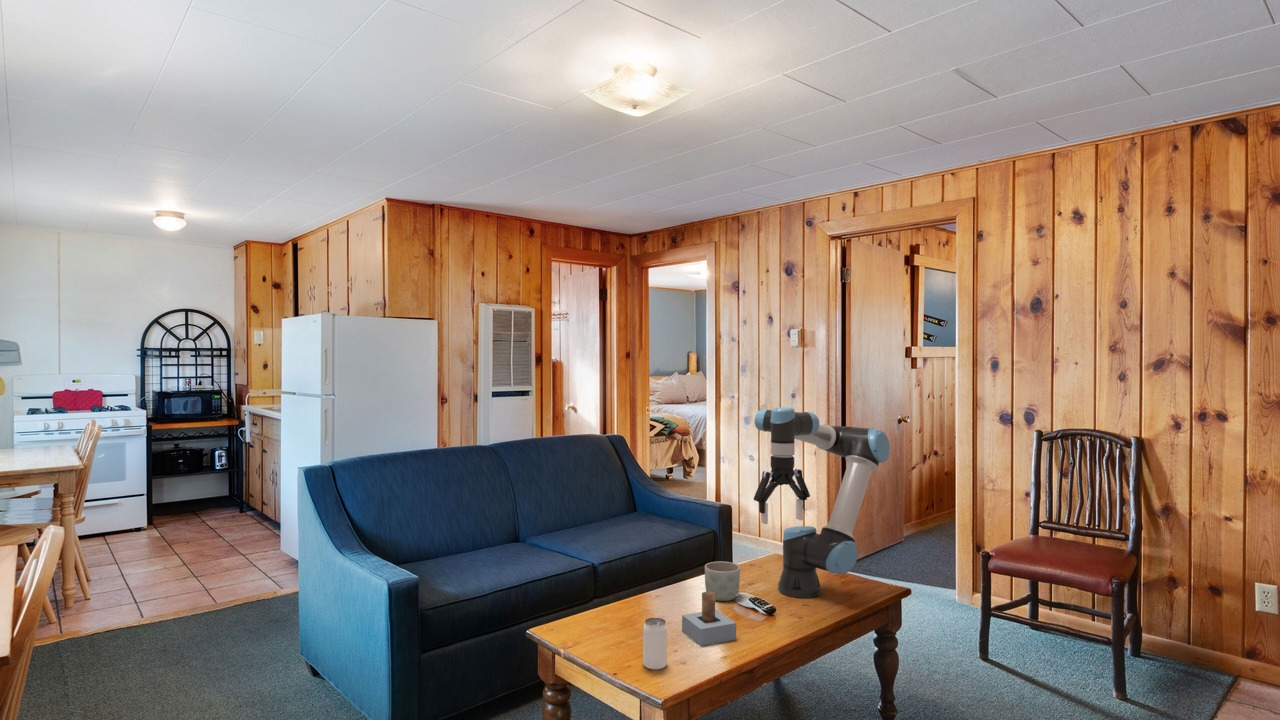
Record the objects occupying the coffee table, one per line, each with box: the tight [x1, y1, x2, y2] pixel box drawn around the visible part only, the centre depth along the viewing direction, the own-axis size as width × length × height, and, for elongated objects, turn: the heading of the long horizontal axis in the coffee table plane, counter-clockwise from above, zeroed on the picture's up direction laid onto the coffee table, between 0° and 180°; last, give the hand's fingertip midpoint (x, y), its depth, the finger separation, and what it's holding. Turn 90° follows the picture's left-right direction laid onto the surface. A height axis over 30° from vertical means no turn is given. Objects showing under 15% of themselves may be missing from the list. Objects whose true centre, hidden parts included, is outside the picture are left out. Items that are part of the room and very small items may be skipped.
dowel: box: [701, 591, 716, 624], centre depth 208 cm, size 4×4×12 cm
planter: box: [704, 560, 741, 602], centre depth 242 cm, size 12×12×11 cm
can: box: [642, 617, 668, 671], centre depth 188 cm, size 6×6×12 cm
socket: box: [681, 609, 737, 647], centre depth 208 cm, size 12×12×5 cm
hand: (782, 521), depth 221 cm, fingers open, 13 cm apart
